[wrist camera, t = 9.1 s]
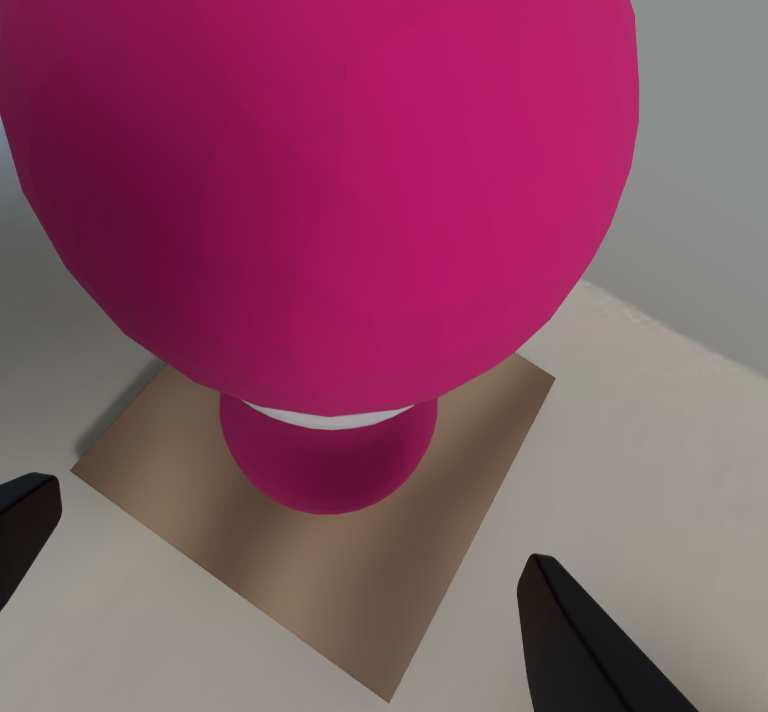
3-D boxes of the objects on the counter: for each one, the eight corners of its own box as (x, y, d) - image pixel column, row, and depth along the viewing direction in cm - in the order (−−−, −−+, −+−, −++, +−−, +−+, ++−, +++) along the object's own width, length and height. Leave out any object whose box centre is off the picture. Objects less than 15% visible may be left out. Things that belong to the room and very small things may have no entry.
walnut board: (544, 385, 23) (555, 378, 22) (385, 692, 18) (388, 703, 17) (299, 232, 25) (297, 218, 23) (84, 474, 19) (69, 470, 18)
